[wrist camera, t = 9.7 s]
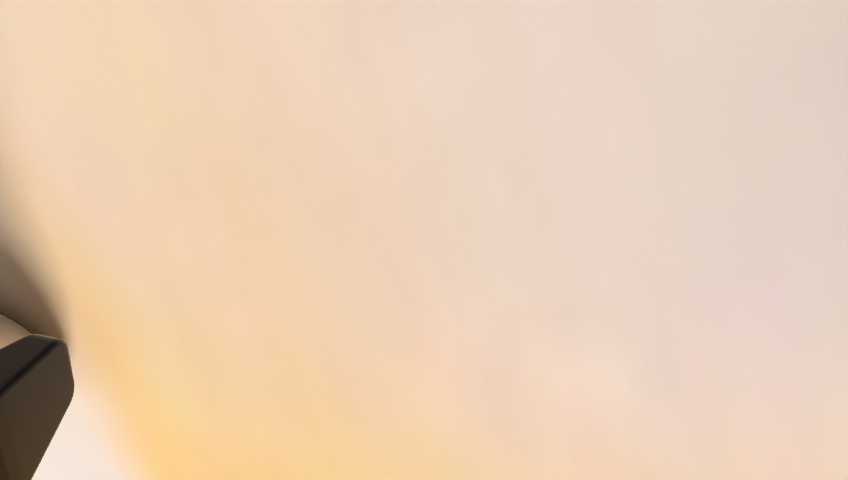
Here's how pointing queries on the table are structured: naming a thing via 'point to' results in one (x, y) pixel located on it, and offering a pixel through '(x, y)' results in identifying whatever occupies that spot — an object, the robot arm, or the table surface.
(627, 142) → the table surface
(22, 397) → the robot arm
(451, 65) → the table surface
